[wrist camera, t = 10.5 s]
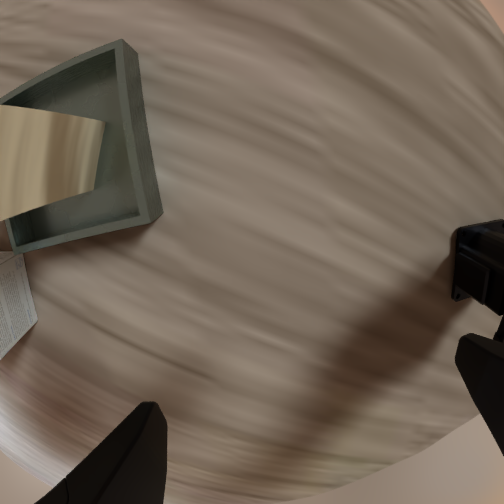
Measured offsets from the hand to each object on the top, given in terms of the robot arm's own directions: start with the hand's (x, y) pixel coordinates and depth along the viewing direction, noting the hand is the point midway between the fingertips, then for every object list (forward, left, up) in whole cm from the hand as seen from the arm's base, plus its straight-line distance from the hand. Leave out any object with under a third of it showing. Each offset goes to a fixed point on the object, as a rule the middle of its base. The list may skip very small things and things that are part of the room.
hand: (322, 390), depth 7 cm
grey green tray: (+12, -9, -13) cm, 20 cm away
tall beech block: (+12, -9, -13) cm, 20 cm away
